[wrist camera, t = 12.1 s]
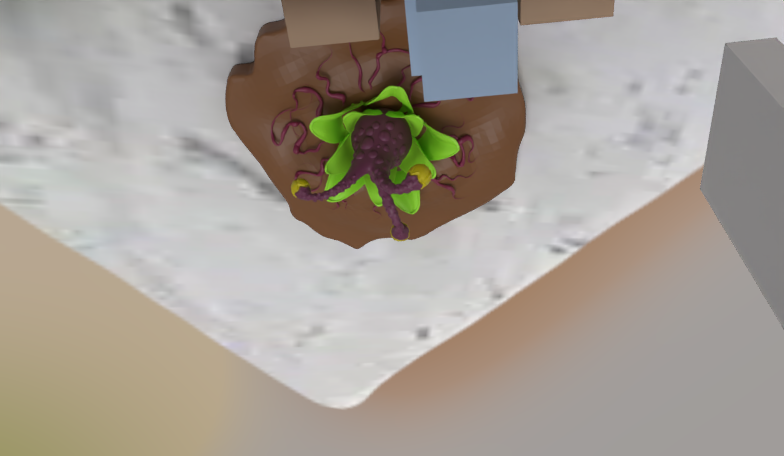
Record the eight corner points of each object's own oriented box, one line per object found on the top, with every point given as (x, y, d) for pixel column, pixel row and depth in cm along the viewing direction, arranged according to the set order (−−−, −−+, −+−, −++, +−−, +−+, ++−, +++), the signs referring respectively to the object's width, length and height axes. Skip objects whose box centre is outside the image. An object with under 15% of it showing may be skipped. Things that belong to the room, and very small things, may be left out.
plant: (557, 171, 56) (589, 265, 47) (330, 255, 61) (320, 355, 52) (460, -79, 45) (478, -17, 36) (193, 48, 50) (150, 130, 41)
